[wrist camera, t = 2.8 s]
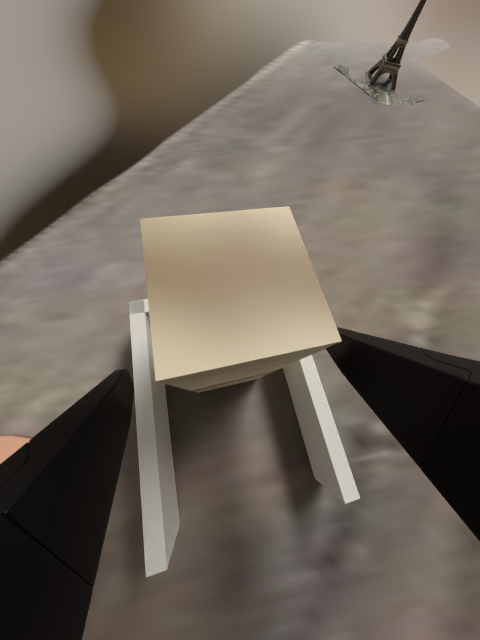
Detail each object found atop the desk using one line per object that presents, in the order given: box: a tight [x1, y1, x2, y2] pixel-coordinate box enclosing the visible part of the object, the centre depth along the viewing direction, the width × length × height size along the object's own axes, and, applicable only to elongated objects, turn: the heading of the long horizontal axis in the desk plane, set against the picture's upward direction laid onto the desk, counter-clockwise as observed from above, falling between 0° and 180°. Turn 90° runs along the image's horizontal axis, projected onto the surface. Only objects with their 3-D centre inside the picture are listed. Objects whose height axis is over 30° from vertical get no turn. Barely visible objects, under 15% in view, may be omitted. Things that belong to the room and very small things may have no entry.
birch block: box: [140, 206, 342, 393], centre depth 12 cm, size 5×5×13 cm
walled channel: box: [129, 299, 360, 577], centre depth 15 cm, size 15×12×4 cm
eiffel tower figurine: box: [334, 0, 426, 106], centre depth 33 cm, size 15×10×13 cm
